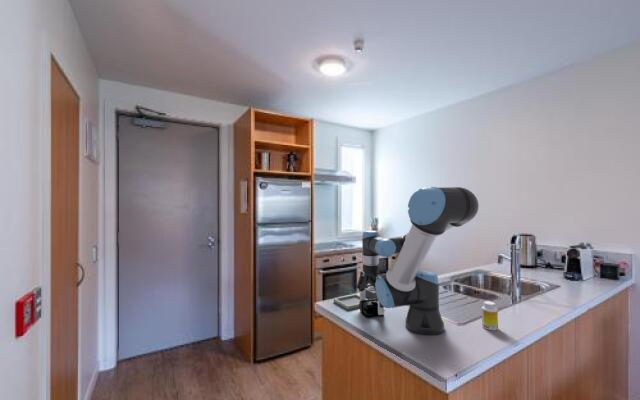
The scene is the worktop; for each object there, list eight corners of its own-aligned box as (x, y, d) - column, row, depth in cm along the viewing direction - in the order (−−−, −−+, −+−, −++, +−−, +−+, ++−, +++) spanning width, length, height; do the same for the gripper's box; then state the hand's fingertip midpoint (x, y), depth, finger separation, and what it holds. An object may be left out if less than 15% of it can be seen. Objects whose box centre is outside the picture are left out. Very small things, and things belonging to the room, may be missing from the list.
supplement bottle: (500, 331, 114) (500, 305, 114) (486, 330, 115) (485, 305, 115) (493, 325, 120) (493, 300, 120) (479, 324, 120) (479, 300, 120)
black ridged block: (378, 310, 139) (378, 296, 139) (385, 315, 132) (385, 301, 132) (359, 313, 136) (358, 298, 136) (365, 318, 129) (365, 303, 129)
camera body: (384, 300, 153) (384, 288, 153) (373, 302, 150) (373, 290, 150) (370, 294, 163) (370, 283, 163) (360, 296, 160) (360, 284, 160)
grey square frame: (371, 305, 146) (371, 301, 146) (348, 310, 139) (347, 306, 139) (356, 297, 158) (356, 293, 158) (333, 302, 151) (333, 298, 151)
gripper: (395, 268, 125) (396, 316, 125) (361, 258, 147) (362, 299, 147) (382, 270, 121) (382, 320, 122) (349, 259, 144) (350, 302, 144)
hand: (371, 309), depth 134 cm, fingers open, 13 cm apart
